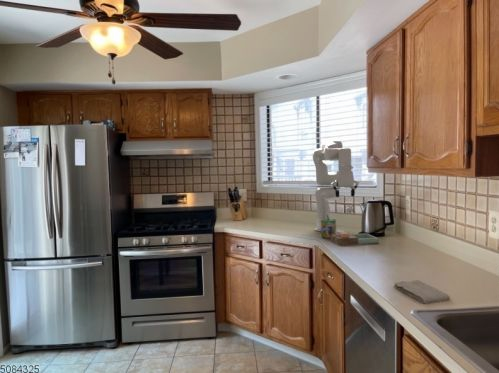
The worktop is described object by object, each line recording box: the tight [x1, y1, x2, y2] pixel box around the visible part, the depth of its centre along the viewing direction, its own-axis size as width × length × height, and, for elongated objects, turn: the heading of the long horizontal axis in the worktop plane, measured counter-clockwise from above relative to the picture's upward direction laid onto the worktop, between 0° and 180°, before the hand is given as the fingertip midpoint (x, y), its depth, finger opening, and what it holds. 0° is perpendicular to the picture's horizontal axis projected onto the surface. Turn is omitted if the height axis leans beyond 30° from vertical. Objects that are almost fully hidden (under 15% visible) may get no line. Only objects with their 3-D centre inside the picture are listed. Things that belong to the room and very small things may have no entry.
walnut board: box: [329, 233, 359, 246], centre depth 216 cm, size 15×12×4 cm
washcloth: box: [393, 279, 451, 304], centre depth 131 cm, size 12×18×3 cm, turn 13°
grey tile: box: [335, 229, 346, 236], centre depth 219 cm, size 4×4×2 cm
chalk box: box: [321, 215, 337, 239], centre depth 233 cm, size 9×9×15 cm
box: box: [350, 233, 379, 245], centre depth 218 cm, size 15×13×3 cm
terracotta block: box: [339, 231, 350, 238], centre depth 213 cm, size 4×4×2 cm
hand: (345, 196), depth 210 cm, fingers open, 9 cm apart
